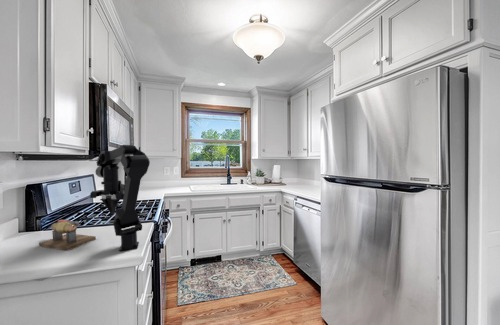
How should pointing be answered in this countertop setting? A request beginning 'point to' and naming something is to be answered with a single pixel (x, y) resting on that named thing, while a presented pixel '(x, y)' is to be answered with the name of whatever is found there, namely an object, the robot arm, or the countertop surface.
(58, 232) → the valve body
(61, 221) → the valve lever
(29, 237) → the countertop surface
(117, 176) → the robot arm
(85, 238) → the mounting board
